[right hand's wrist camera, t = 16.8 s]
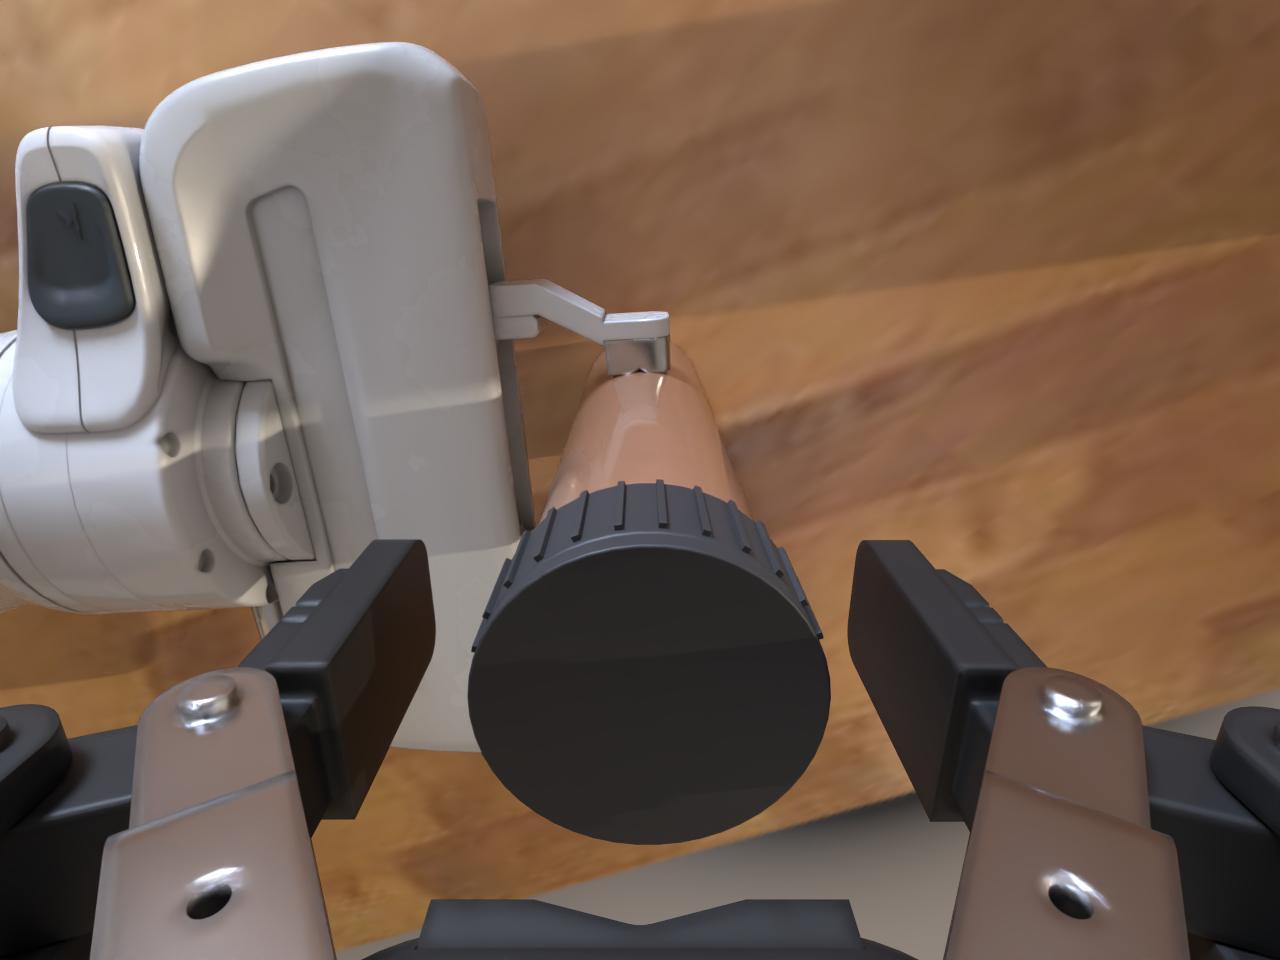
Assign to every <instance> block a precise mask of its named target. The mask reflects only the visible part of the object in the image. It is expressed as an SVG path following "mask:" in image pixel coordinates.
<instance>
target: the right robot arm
mask: <svg viewBox="0 0 1280 960" xmlns="http://www.w3.org/2000/svg"><path fill="white" fill-rule="evenodd" d="M435 639H436V621H435V613H434V604H433V596H432V588H431V579H430V571H429V563H428V555H427V550H426V546H425V544H424V542H423V541H422V540H420V539H375V540H373V541H372V542H371V543H370V544H369V545H368V546H367V548H366V549H365V550H364V551H363V552H362V553H361V555H360V556H359V557H358V558H357V559H356V561H355V562H354V563H353V564H352V565H351V566H350V568H349V569H338V570H336V571H335V572H333V573H331V574H330V575H328V576H326V577H324V578H323V579H321V580H319V581H317V582H316V583H314V584H312V585H311V587H310V588H309V589H308V590H307V591H306V592H305V593H304V594H303V595H302V596H301V598H300V599H299V600H298V601H297V602H296V606H292V607H291V608H290V610H289V611H288V612H287V613H286V614H285V615H284V616H283V617H282V621H281V622H278V623H277V624H276V625H275V626H274V627H273V628H272V629H271V630H270V631H269V633H268V634H267V635H266V636H265V637H264V638H263V639H262V640H261V641H260V642H259V644H258V645H257V646H256V647H255V648H254V649H253V650H252V651H251V652H250V653H249V654H248V656H247V657H246V658H245V659H244V660H243V661H242V662H241V663H240V664H239V665H238V667H234V668H226V669H220V670H215V671H211V672H207V673H204V674H201V675H198V676H195V677H193V678H190V679H188V680H185V681H183V682H181V683H179V684H177V685H175V686H174V687H172V688H170V689H169V690H167V691H165V692H164V693H162V694H161V695H160V696H158V697H157V698H156V699H155V700H154V701H152V702H151V703H150V704H149V705H148V706H147V708H146V709H145V710H144V711H143V713H142V715H141V716H140V718H139V722H138V725H135V726H131V727H126V728H121V729H116V730H111V731H106V732H101V733H96V734H91V735H85V736H80V737H75V738H70V739H67V737H66V735H65V732H64V729H63V726H62V724H61V721H60V718H59V715H58V714H57V712H56V711H55V710H53V709H52V708H50V707H47V706H43V705H34V704H27V705H15V706H8V707H3V708H0V960H337V957H336V953H335V948H334V943H333V939H332V934H331V929H330V925H329V920H328V915H327V910H326V906H325V901H324V896H323V892H322V887H321V882H320V878H319V873H318V868H317V864H316V859H315V854H314V850H313V845H312V841H311V838H312V836H313V834H314V832H315V830H316V828H317V826H318V825H319V823H320V821H321V819H355V818H356V816H357V814H358V812H359V810H360V807H361V805H362V803H363V801H364V799H365V797H366V795H367V793H368V791H369V789H370V787H371V785H372V783H373V780H374V778H375V776H376V774H377V772H378V770H379V768H380V766H381V764H382V762H383V760H384V758H385V755H386V753H387V751H388V749H389V747H390V745H391V743H392V741H393V739H394V737H395V735H396V733H397V730H398V728H399V726H400V724H401V722H402V720H403V718H404V716H405V714H406V712H407V710H408V708H409V705H410V703H411V701H412V699H413V697H414V695H415V693H416V691H417V689H418V687H419V685H420V683H421V681H422V678H423V676H424V674H425V672H426V670H427V668H428V666H429V664H430V662H431V659H432V656H433V652H434V647H435ZM848 645H849V651H850V655H851V658H852V661H853V664H854V666H855V668H856V670H857V672H858V674H859V676H860V678H861V680H862V682H863V684H864V686H865V688H866V690H867V692H868V694H869V697H870V699H871V701H872V703H873V705H874V707H875V709H876V711H877V713H878V715H879V717H880V719H881V721H882V723H883V725H884V727H885V729H886V731H887V733H888V735H889V738H890V740H891V742H892V744H893V746H894V748H895V750H896V752H897V754H898V756H899V758H900V760H901V762H902V764H903V766H904V768H905V770H906V772H907V774H908V777H909V779H910V781H911V783H912V785H913V787H914V789H915V791H916V793H917V795H918V797H919V799H920V801H921V803H922V805H923V807H924V809H925V811H926V813H927V816H928V818H929V819H930V821H931V822H943V821H944V822H953V821H954V822H959V821H960V822H963V821H964V822H965V824H966V825H967V827H968V829H969V831H970V836H969V841H968V845H967V850H966V854H965V859H964V864H963V868H962V873H961V878H960V882H959V887H958V892H957V896H956V901H955V906H954V911H953V915H952V920H951V925H950V929H949V934H948V939H947V943H946V948H945V953H944V957H943V960H1280V710H1279V709H1274V708H1266V707H1241V708H1237V709H1233V710H1232V711H1230V712H1228V713H1227V714H1226V716H1225V717H1224V720H1223V723H1222V725H1221V728H1220V731H1219V734H1218V736H1217V739H1216V740H1211V739H1206V738H1201V737H1196V736H1191V735H1186V734H1181V733H1176V732H1171V731H1166V730H1161V729H1156V728H1151V727H1147V726H1143V725H1142V722H1141V718H1140V716H1139V715H1138V713H1137V711H1136V710H1135V709H1134V708H1133V706H1132V705H1131V704H1130V703H1129V702H1128V701H1126V700H1125V699H1124V698H1123V697H1122V696H1120V695H1119V694H1118V693H1116V692H1115V691H1113V690H1111V689H1110V688H1108V687H1106V686H1105V685H1103V684H1101V683H1099V682H1097V681H1095V680H1092V679H1090V678H1087V677H1085V676H1082V675H1079V674H1076V673H1073V672H1069V671H1065V670H1060V669H1054V668H1048V667H1047V666H1046V665H1045V664H1044V663H1043V662H1042V661H1041V660H1040V659H1039V658H1038V657H1037V655H1036V654H1035V653H1034V652H1033V651H1032V650H1031V649H1030V648H1029V647H1028V646H1027V645H1026V644H1025V642H1024V641H1023V640H1022V639H1021V638H1020V637H1019V636H1018V635H1017V634H1016V633H1015V632H1014V631H1013V629H1012V628H1011V627H1010V626H1009V625H1008V624H1004V623H1003V619H1002V618H1001V616H1000V615H999V614H998V613H997V612H996V611H995V610H994V609H993V608H989V603H988V602H987V601H986V600H985V599H984V598H983V597H982V596H981V595H980V594H979V593H978V592H977V590H976V589H975V588H974V587H973V586H972V585H970V584H969V583H967V582H965V581H963V580H962V579H960V578H958V577H956V576H955V575H953V574H951V573H950V572H948V571H946V570H944V569H935V568H934V567H933V566H932V565H931V563H930V562H929V561H928V560H927V559H926V558H925V557H924V555H923V554H922V553H921V552H920V551H919V550H918V548H917V547H916V546H915V545H914V544H913V543H912V542H911V541H909V540H863V541H862V542H861V543H860V544H859V546H858V549H857V554H856V561H855V569H854V577H853V585H852V594H851V602H850V610H849V618H848ZM362 960H918V959H916V958H914V957H912V956H910V955H907V954H905V953H903V952H901V951H899V950H896V949H893V948H891V947H888V946H885V945H883V944H880V943H877V942H875V941H871V940H867V939H863V938H861V937H860V934H859V931H858V928H857V925H856V921H855V918H854V915H853V911H852V908H851V905H850V902H849V900H743V901H739V902H735V903H731V904H727V905H723V906H719V907H716V908H712V909H708V910H704V911H700V912H696V913H692V914H688V915H684V916H681V917H677V918H673V919H669V920H665V921H661V922H657V923H653V924H648V925H632V924H627V923H623V922H619V921H615V920H611V919H607V918H603V917H599V916H596V915H592V914H588V913H584V912H580V911H576V910H572V909H568V908H564V907H561V906H557V905H553V904H549V903H545V902H541V901H537V900H431V902H430V905H429V908H428V911H427V915H426V918H425V921H424V924H423V928H422V931H421V934H420V937H419V938H417V939H413V940H409V941H406V942H403V943H400V944H398V945H395V946H392V947H389V948H387V949H384V950H381V951H379V952H377V953H375V954H372V955H370V956H368V957H366V958H364V959H362Z"/></svg>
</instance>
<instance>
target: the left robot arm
mask: <svg viewBox="0 0 1280 960" xmlns="http://www.w3.org/2000/svg"><path fill="white" fill-rule="evenodd" d="M15 178H16V201H17V219H18V244H19V307H18V324H17V330H14V331H9V332H5V333H0V614H1V613H4V612H7V611H10V610H13V609H16V608H18V607H21V606H24V605H27V604H33V605H36V606H40V607H43V608H48V609H52V610H57V611H61V612H66V613H73V614H95V615H97V614H112V613H133V612H153V611H173V610H199V609H219V608H239V607H251V609H252V612H253V615H254V619H255V622H256V626H257V629H258V633H259V635H260V638H261V640H262V639H263V638H264V637H265V636H266V635H267V634H268V633H269V631H270V630H271V629H272V628H273V627H274V626H275V625H276V624H277V623H278V622H281V621H282V617H283V616H284V615H285V614H286V613H287V612H288V611H289V610H290V608H291V607H292V606H296V602H297V601H298V600H299V599H300V598H301V596H302V595H303V594H304V593H305V592H306V591H307V590H308V589H309V588H310V587H311V585H312V584H314V583H316V582H317V581H319V580H321V579H323V578H324V577H326V576H328V575H330V574H331V573H333V572H335V571H336V570H338V569H349V568H350V566H351V565H352V564H353V563H354V562H355V561H356V559H357V558H358V557H359V556H360V555H361V553H362V552H363V551H364V550H365V549H366V548H367V546H368V545H369V544H370V543H371V542H372V541H373V540H375V539H420V540H422V541H423V542H424V544H425V546H426V550H427V555H428V563H429V571H430V579H431V588H432V596H433V604H434V613H435V621H436V639H435V647H434V652H433V656H432V659H431V662H430V664H429V666H428V668H427V670H426V672H425V674H424V676H423V678H422V681H421V683H420V685H419V687H418V689H417V691H416V693H415V695H414V697H413V699H412V701H411V703H410V705H409V708H408V710H407V712H406V714H405V716H404V718H403V720H402V722H401V724H400V726H399V728H398V730H397V733H396V735H395V737H394V739H393V741H392V743H391V745H390V747H397V748H406V749H418V750H430V751H446V752H473V753H481V750H480V748H479V746H478V743H477V741H476V739H475V736H474V733H473V729H472V725H471V721H470V717H469V709H468V699H467V694H468V677H469V673H470V668H471V664H472V659H473V656H474V652H471V649H472V645H473V642H474V640H475V637H476V635H477V632H478V630H479V627H480V625H481V622H482V620H483V617H482V616H483V613H484V611H485V608H486V606H487V603H488V601H489V598H490V596H491V593H492V591H493V588H494V586H495V584H496V581H497V579H498V576H499V574H500V571H501V569H502V566H503V564H504V562H505V560H506V558H509V559H511V560H512V558H513V556H514V554H515V552H516V550H517V547H518V544H519V542H520V539H521V537H522V534H523V533H524V532H525V531H526V530H527V531H529V532H531V531H532V530H533V529H534V528H535V527H536V523H535V514H534V506H533V498H532V489H531V481H530V473H529V464H528V456H527V448H526V439H525V431H524V423H523V414H522V406H521V398H520V390H519V381H518V373H517V365H516V356H515V348H514V340H513V339H522V338H535V337H536V336H537V335H538V334H539V333H540V331H541V330H542V329H543V328H544V327H545V326H546V325H547V324H548V320H550V321H552V322H554V323H556V324H558V325H560V326H562V327H564V328H566V329H569V330H571V331H573V332H575V333H577V334H579V335H581V336H583V337H585V338H587V339H589V340H591V341H594V342H596V343H598V344H600V345H602V346H604V343H605V353H606V363H607V374H608V375H627V374H632V373H634V372H635V371H636V370H637V369H639V368H640V369H642V370H643V371H645V372H646V373H659V372H666V371H668V370H671V364H670V330H669V315H668V312H659V311H652V312H634V313H616V314H606V312H605V309H603V308H601V307H599V306H597V305H595V304H593V303H591V302H589V301H587V300H586V299H584V298H582V297H580V296H578V295H576V294H574V293H572V292H570V291H568V290H566V289H564V288H562V287H560V286H558V285H556V284H554V283H553V282H551V281H549V280H547V279H545V278H542V279H525V280H508V281H506V273H505V265H504V257H503V248H502V240H501V232H500V223H499V215H498V207H497V198H496V190H495V182H494V173H493V165H492V157H491V148H490V140H489V132H488V123H487V115H486V108H485V104H484V100H483V98H482V96H481V94H480V93H479V91H478V90H477V89H476V88H475V87H474V86H473V85H472V84H471V83H470V82H469V81H468V80H467V79H466V78H465V77H464V76H463V75H462V74H461V73H460V72H459V71H458V70H457V69H456V68H455V67H454V66H452V65H451V64H450V63H449V62H447V61H446V60H445V59H443V58H442V57H440V56H439V55H437V54H436V53H434V52H433V51H431V50H429V49H427V48H425V47H423V46H420V45H416V44H412V43H405V42H384V43H369V44H360V45H352V46H343V47H335V48H329V49H322V50H316V51H309V52H303V53H298V54H293V55H288V56H283V57H278V58H273V59H268V60H263V61H259V62H255V63H251V64H247V65H243V66H239V67H235V68H231V69H227V70H223V71H219V72H216V73H213V74H210V75H207V76H204V77H201V78H198V79H196V80H194V81H192V82H189V83H187V84H185V85H183V86H182V87H180V88H178V89H177V90H175V91H174V92H172V93H171V94H170V95H169V96H167V97H166V98H165V99H164V100H163V101H162V102H161V103H160V104H159V105H158V106H157V107H156V108H155V110H154V111H153V113H152V114H151V116H150V118H149V119H148V121H147V124H146V126H145V128H144V129H140V128H128V127H114V126H56V127H46V128H41V129H37V130H34V131H32V132H30V133H28V134H27V135H26V136H25V137H24V138H23V139H22V141H21V143H20V145H19V147H18V151H17V156H16V165H15Z"/></svg>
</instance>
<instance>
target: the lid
mask: <svg viewBox="0 0 1280 960" xmlns="http://www.w3.org/2000/svg"><path fill="white" fill-rule="evenodd" d="M482 617H483V620H482V622H481V625H480V627H479V630H478V632H477V635H476V637H475V640H474V642H473V645H472V649H471V652H474V656H473V659H472V664H471V668H470V673H469V677H468V694H467V699H468V709H469V717H470V721H471V725H472V729H473V733H474V736H475V739H476V741H477V743H478V746H479V748H480V750H481V753H482V755H483V757H484V758H485V760H486V761H487V763H488V765H489V766H490V768H491V770H492V771H493V773H494V774H495V775H496V776H497V777H498V779H499V780H500V781H501V782H502V784H503V785H504V786H505V787H506V788H507V789H508V790H509V791H510V792H511V793H512V794H513V795H514V796H515V797H516V798H517V799H519V800H520V801H521V802H522V803H524V804H525V805H526V806H528V807H529V808H530V809H532V810H533V811H534V812H536V813H537V814H539V815H541V816H543V817H544V818H546V819H548V820H550V821H551V822H553V823H555V824H557V825H560V826H562V827H564V828H566V829H569V830H571V831H573V832H576V833H580V834H583V835H586V836H589V837H592V838H596V839H601V840H606V841H611V842H616V843H626V844H635V845H660V844H671V843H681V842H686V841H691V840H696V839H701V838H704V837H707V836H711V835H714V834H717V833H721V832H723V831H726V830H728V829H730V828H733V827H735V826H737V825H740V824H742V823H744V822H745V821H747V820H749V819H751V818H753V817H754V816H756V815H758V814H760V813H761V812H762V811H764V810H765V809H767V808H768V807H769V806H771V805H772V804H774V803H775V802H776V801H777V800H778V799H780V798H781V797H782V796H783V795H784V794H785V793H786V792H787V791H788V790H789V789H790V788H791V787H792V786H793V785H794V784H795V783H796V781H797V780H798V779H799V778H800V777H801V776H802V774H803V773H804V772H805V770H806V769H807V767H808V765H809V764H810V762H811V761H812V759H813V758H814V756H815V754H816V752H817V749H818V747H819V745H820V743H821V741H822V738H823V735H824V732H825V728H826V724H827V721H828V716H829V708H830V700H831V693H830V676H829V671H828V666H827V661H826V657H825V655H824V652H823V649H822V646H821V644H820V641H819V639H823V634H822V631H821V629H820V627H819V625H818V622H817V620H816V618H815V616H814V613H813V611H812V609H811V607H810V605H809V602H808V600H807V598H806V596H805V593H804V591H803V589H802V587H801V584H800V582H799V580H798V578H797V576H796V574H795V572H794V569H793V567H792V565H791V563H790V560H789V558H788V556H787V554H786V551H785V550H784V548H783V547H780V548H777V547H776V546H775V544H774V543H773V542H772V540H771V539H770V537H769V535H768V533H767V530H766V528H765V525H764V524H763V523H762V522H761V521H760V520H759V521H758V522H757V523H755V522H754V521H753V520H752V519H751V518H749V517H748V516H747V515H745V514H744V513H742V512H741V511H740V510H738V508H737V505H736V503H735V502H734V501H732V500H729V501H728V503H726V502H725V501H723V500H721V499H719V498H717V497H714V496H712V495H709V494H706V493H704V492H702V488H701V487H699V486H696V485H695V486H694V488H693V489H690V488H686V487H683V486H677V485H669V484H664V480H660V479H656V483H635V484H627V485H625V481H619V482H618V483H617V486H614V487H610V488H606V489H601V490H597V491H595V492H592V493H590V494H589V492H588V490H585V491H583V492H581V494H580V497H579V498H577V499H575V500H573V501H571V502H570V503H568V504H566V505H564V506H562V507H560V508H559V509H557V510H556V509H555V507H552V508H551V509H550V510H548V513H547V516H546V518H545V519H544V520H543V521H542V522H541V523H540V524H539V525H538V526H536V527H535V528H534V529H533V530H532V531H531V532H529V531H527V530H526V531H525V532H524V533H523V534H522V537H521V539H520V542H519V544H518V547H517V550H516V552H515V554H514V556H513V558H512V560H511V559H509V558H506V560H505V562H504V564H503V566H502V569H501V571H500V574H499V576H498V579H497V581H496V584H495V586H494V588H493V591H492V593H491V596H490V598H489V601H488V603H487V606H486V608H485V611H484V613H483V616H482Z"/></svg>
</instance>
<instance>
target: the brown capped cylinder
mask: <svg viewBox="0 0 1280 960" xmlns="http://www.w3.org/2000/svg"><path fill="white" fill-rule="evenodd" d="M670 364H671V370H668V371H666V372H659V373H646V372H645V371H643V370H642V369H640V368H639V369H637V370H636V371H635V372H634V373H632V374H627V375H608V374H607V363H606V353H605V350H604V351H603V352H602V353H601V354H600V355H599V357H598V358H597V359H596V361H595V363H594V364H593V366H592V369H591V371H590V374H589V377H588V380H587V383H586V386H585V389H584V392H583V395H582V397H581V400H580V403H579V406H578V409H577V412H576V415H575V418H574V421H573V424H572V427H571V430H570V432H569V435H568V438H567V441H566V444H565V447H564V450H563V453H562V456H561V459H560V462H559V465H558V468H557V470H556V473H555V476H554V479H553V482H552V485H551V488H550V491H549V494H548V497H547V500H546V503H545V505H544V508H543V511H542V514H541V517H540V520H539V523H538V525H539V524H540V523H541V522H542V521H543V520H544V519H545V518H546V516H547V513H548V510H550V509H551V508H552V507H555V509H556V510H557V509H559V508H560V507H562V506H564V505H566V504H568V503H570V502H571V501H573V500H575V499H577V498H579V497H580V494H581V492H583V491H585V490H588V492H589V494H590V493H592V492H595V491H597V490H601V489H606V488H610V487H614V486H617V483H618V482H619V481H625V485H627V484H635V483H656V479H660V480H664V484H669V485H677V486H683V487H686V488H690V489H693V488H694V486H695V485H696V486H699V487H701V488H702V492H704V493H706V494H709V495H712V496H714V497H717V498H719V499H721V500H723V501H725V502H726V503H728V501H729V500H732V501H734V502H735V503H736V505H737V508H738V510H740V511H741V512H742V513H744V514H745V515H747V516H748V517H749V518H751V519H752V520H753V518H752V516H751V513H750V510H749V508H748V505H747V503H746V500H745V497H744V495H743V492H742V490H741V487H740V484H739V482H738V479H737V477H736V474H735V471H734V469H733V466H732V464H731V461H730V458H729V456H728V453H727V451H726V448H725V445H724V443H723V440H722V438H721V435H720V432H719V430H718V427H717V425H716V422H715V419H714V417H713V414H712V412H711V409H710V406H709V404H708V401H707V399H706V396H705V393H704V391H703V388H702V386H701V383H700V380H699V378H698V375H697V373H696V370H695V368H694V365H693V364H692V362H691V360H690V359H689V357H688V356H687V355H686V353H685V352H684V351H683V350H682V349H681V348H679V347H678V346H677V345H675V344H674V343H672V342H671V341H670Z"/></svg>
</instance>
